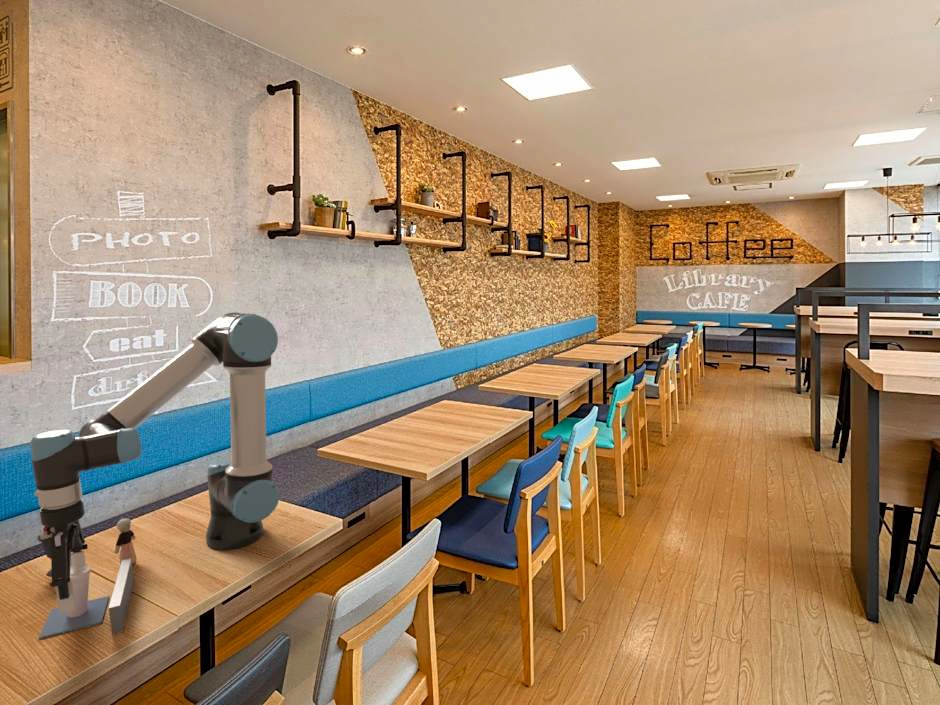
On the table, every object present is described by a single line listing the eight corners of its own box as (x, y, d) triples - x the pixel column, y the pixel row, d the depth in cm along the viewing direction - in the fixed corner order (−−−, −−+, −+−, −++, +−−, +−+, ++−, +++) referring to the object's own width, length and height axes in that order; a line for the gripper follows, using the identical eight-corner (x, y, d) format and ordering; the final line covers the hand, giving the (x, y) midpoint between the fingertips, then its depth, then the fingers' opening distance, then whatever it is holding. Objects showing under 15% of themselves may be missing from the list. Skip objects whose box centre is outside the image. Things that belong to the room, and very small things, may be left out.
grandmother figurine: (131, 571, 140) (125, 524, 138) (114, 573, 139) (108, 526, 137) (142, 556, 147) (137, 511, 145) (126, 558, 146) (121, 513, 145)
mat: (109, 597, 128) (108, 595, 128) (101, 623, 118) (101, 621, 118) (51, 610, 123) (51, 609, 123) (38, 639, 114) (38, 637, 114)
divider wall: (133, 581, 135) (131, 558, 134) (123, 631, 116) (119, 605, 115) (124, 583, 134) (121, 560, 133) (111, 634, 115) (108, 608, 114)
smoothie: (75, 623, 118) (69, 561, 116) (51, 619, 119) (45, 558, 118) (101, 606, 124) (96, 547, 123) (78, 603, 126) (72, 545, 124)
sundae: (38, 580, 136) (30, 523, 134) (46, 567, 142) (39, 513, 140) (70, 574, 139) (63, 518, 137) (77, 562, 145) (70, 508, 143)
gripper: (53, 486, 127) (65, 571, 130) (22, 530, 105) (38, 631, 108) (92, 480, 130) (103, 563, 133) (70, 521, 108) (84, 620, 111)
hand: (74, 594), depth 120 cm, fingers open, 13 cm apart
